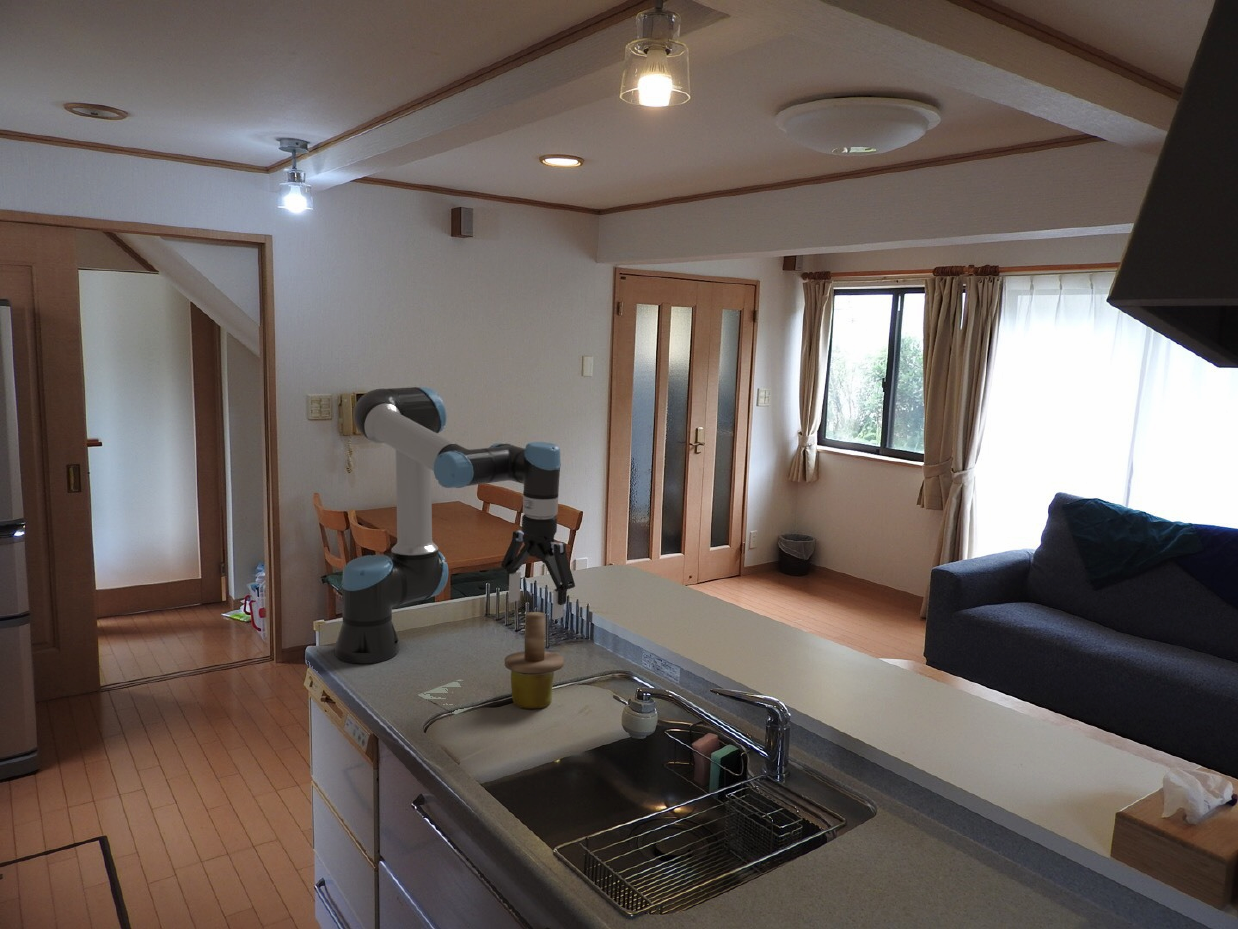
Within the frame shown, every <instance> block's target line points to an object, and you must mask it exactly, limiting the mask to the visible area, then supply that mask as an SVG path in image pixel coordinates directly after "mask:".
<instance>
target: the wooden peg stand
mask: <svg viewBox="0 0 1238 929" xmlns="http://www.w3.org/2000/svg"><path fill="white" fill-rule="evenodd" d="M524 616H525V619H524V651H518V652H513V653H510V654H508V655H506V657H504V667H505V668H506V669H507V670H510V671H511V670H512V671H515V672H520V673H534V674H535V673H548V672H553V671H554V672H556V671H558V670H561V669H562V668H563V667H564V666H565V659H564V657H563V656H562V654H561V655H560V654H558V653H555V652H552V651H551V652H550V651H545V649H546V648H545V646H546V613H544V612H541V611H540V612H539V611H530V612H526V613H525V615H524Z"/></svg>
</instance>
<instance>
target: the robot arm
mask: <svg viewBox="0 0 1238 929" xmlns="http://www.w3.org/2000/svg"><path fill="white" fill-rule="evenodd" d="M446 410H447V409H446V406H445V403H444V401H443V399H442V397H440V395H439V394H438V393H437V391H436V390H434V389H433V388H430V387H429V388H428V387H421V386H420V387H417V386H413V387H412V386H410V387H409V386H408V387H394V388H376V389H372V390H369V391H367V392H366V393H364V394H362V396H361V397H360V398H359V399H358V401H357V402H356V404H355V405H354V409H353V417H352V418H353V423H354V426H355V427H356V430H357V431H358V432H359V433H360V434H361V435H362V436H363V437H364V438H366V439H368V440H370V441H371V442H373V443H376V444H385V445H387V446H388V447H390V448H393V449H394V450H395V481H396V482H395V486H396V487H395V488H396V491H395V492H396V528H397V530H396V531H397V534H396V535H397V542H396V544H395V545H393V547H391V557H390V556H388V555H386V554H373V555H371V554H367V555H363V556H359V557H357V558H354V559H352V560H350V561H349V562H347V563H346V564H345V566H344V567H343V569H342V580H341V587H342V589H341V590H342V591H341V592H342V596H341V597H342V599H341V600H342V602H341V603H342V624H341V626H340V629H339V633H338V636H337V640H336V642H335V644H334V646H335V647H334V653H335V654H334V655H335V657H336V658H337V659H338V660H341V661H343V662H346V663H349V664H350V663H351V664H360V665H361V664H363V665H364V664H372V663H373V664H375V663H381V662H383V661H387V660H390V659H392V658H394V657H396V656H397V655H398V653H399V651H400V641H399V638H398V634H397V632H396V631H397V630H396V629H395V626H394V624H393V617H392V616H393V607H396V606H401V605H405V604H409V603H414V602H418V601H425V600H428V599H430V598H432V597H436V596H438V595H440V594H441V593H442V592H443V590H444V589H445V588H446V586H447V583H448V579H449V565H448V562H446V560H447V559H446V557H445V556H444V555H443V553H442V552H441V551H439V546H438V545H437V544H436V543H434V541H433V518H432V517H433V512H432V510H433V509H432V508H433V506H432V505H433V504H432V472H433V474H434V477H435V480H437V481H438V484H439V485H440V486H441V487H442V488H446V489H450V488H452V489H453V488H455V489H462V488H464V487H471V486H478V485H485V484H491V483H499V482H506V481H508V482H509V481H510V482H516V483H518V484H522V485H523V493H522V494H523V496H522V513H523V515H522V517H521V529H519V530H514V531H513V532H512V537H511V541H510V544H509V546H508V548H507V551H506V553H505V555H504V558H503V559H502V561H501V563H500V564H501V565H500V566H501V568H503V569H505V570H506V572H507V586H508V603H510V604H511V603H514V602H515V603H516V602H518V601H520V595H521V575H522V574H521V573H522V572H521V571H520V570H521V569H520V568H521V567H522V565H523V564H524V563H525V562H526V561H527V560H528V559H529V557H531V558H534V557H535V558H536V559H538V560H541V562H542V564H544V565H545V567H546V569H547V571H548V573H549V575H550V577H551V580H552V582H553V584H554V585H555V586H554V587H556V588H555V589H553V591H552V592H553V593H552V594H553V596H552V598H553V599H552V613H551V614H552V615H551V616H552V617H551V619H552V620H558V619H560V618H564V616H565V615H564V614H565V613H564V611H565V604H566V603H567V597H568V596H567V594H568V590H570V589H571V590H572V589H574V588H575V587H576V584H575V580H574V577H573V572H572V569H571V566H570V562H569V559H568V556H567V551H566V550H567V547H566V543H565V542H556V541H555V535H556V533H557V531H558V517H557V515H558V513H559V490H560V489H559V487H560V475H561V474H560V472H561V467H562V463H561V449H560V447H559V445H557V444H555V443H552V442H544V441H534V442H529V443H527V444H526V445H525V448H523V447H521V446H517V445H514V444H511V443H501V442H497V443H494V444H492V445H491V446H489V447H487V448H486V447H485V448H474V449H470V448H469V449H467V448H465V447H463V446H461V445H459V444H457V443H456V442H454V441H452V440H450V439H448V438H446V437H445V436H443V435H440V434H439V433H440V432H442V431H443V430H444V429H445V426H446V424H447V415H448V414H447V411H446ZM523 544H524V545H523ZM522 545H523V546H522Z"/></svg>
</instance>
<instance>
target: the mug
mask: <svg viewBox="0 0 1238 929" xmlns="http://www.w3.org/2000/svg"><path fill="white" fill-rule="evenodd" d="M554 672H555V671H553V672H548V673H535V674H534V673H520V672H515V671H512V670H510V684H511V685H510V686H511V687H510V688H511V698H512V702H513V704H514V705H515V706H516V707H518V708H521V709H525V710H534V709H542V708H547V707H549V706H550V705H551V703H552V702H553V685H554V677H555V676H554V675H555V673H554Z"/></svg>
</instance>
